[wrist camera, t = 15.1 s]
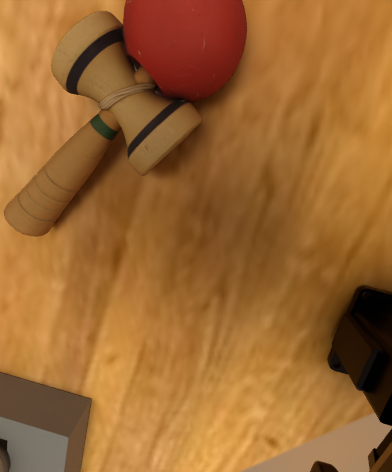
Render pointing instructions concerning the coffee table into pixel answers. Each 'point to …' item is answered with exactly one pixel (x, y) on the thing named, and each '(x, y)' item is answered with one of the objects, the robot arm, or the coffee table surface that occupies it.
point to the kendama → (133, 91)
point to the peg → (4, 457)
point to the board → (42, 426)
